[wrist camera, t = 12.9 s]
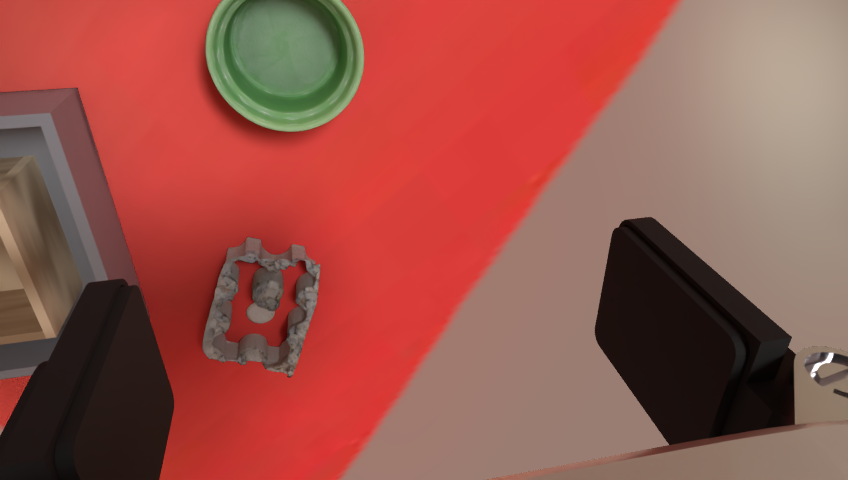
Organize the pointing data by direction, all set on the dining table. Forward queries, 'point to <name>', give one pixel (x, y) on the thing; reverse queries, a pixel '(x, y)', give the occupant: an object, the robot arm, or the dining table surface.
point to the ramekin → (285, 60)
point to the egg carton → (262, 307)
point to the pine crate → (32, 257)
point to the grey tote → (64, 198)
